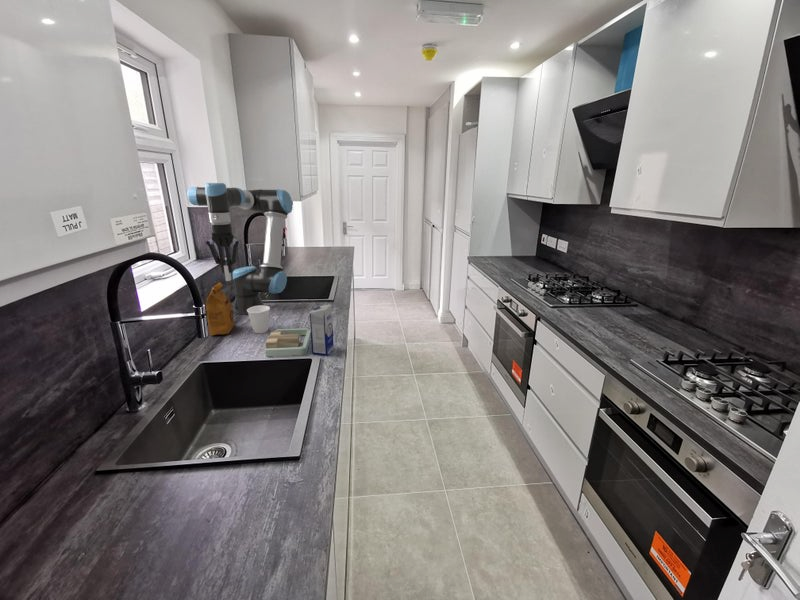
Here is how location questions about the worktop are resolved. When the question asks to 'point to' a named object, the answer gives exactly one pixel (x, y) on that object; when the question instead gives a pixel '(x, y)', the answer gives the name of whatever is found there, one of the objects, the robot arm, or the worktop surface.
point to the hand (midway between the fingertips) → (228, 280)
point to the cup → (259, 318)
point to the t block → (282, 340)
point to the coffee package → (219, 312)
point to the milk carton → (321, 330)
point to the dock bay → (291, 350)
